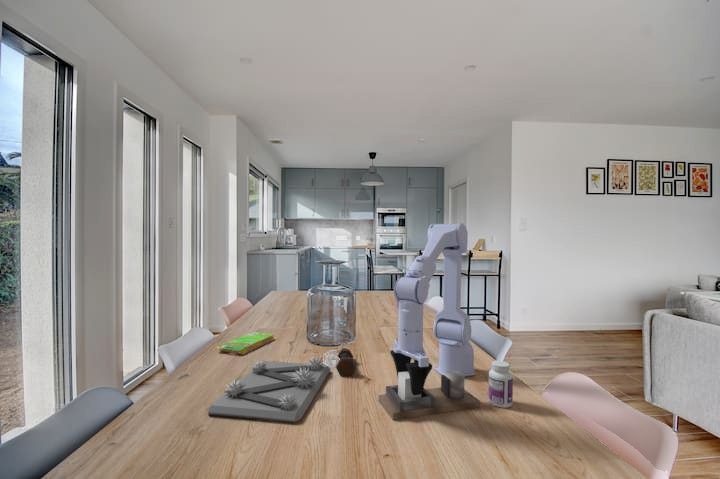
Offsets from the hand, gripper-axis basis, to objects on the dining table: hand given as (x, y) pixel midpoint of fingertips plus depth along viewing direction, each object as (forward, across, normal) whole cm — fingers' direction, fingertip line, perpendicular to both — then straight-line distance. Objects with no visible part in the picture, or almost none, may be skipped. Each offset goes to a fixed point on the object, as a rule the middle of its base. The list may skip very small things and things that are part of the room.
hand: (409, 387), depth 82 cm
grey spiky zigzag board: (+5, -17, -29) cm, 34 cm away
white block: (+3, 0, 0) cm, 3 cm away
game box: (+5, -57, -37) cm, 69 cm away
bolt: (+5, -29, -8) cm, 30 cm away
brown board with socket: (+5, 0, +5) cm, 7 cm away
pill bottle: (+5, +4, +22) cm, 23 cm away
